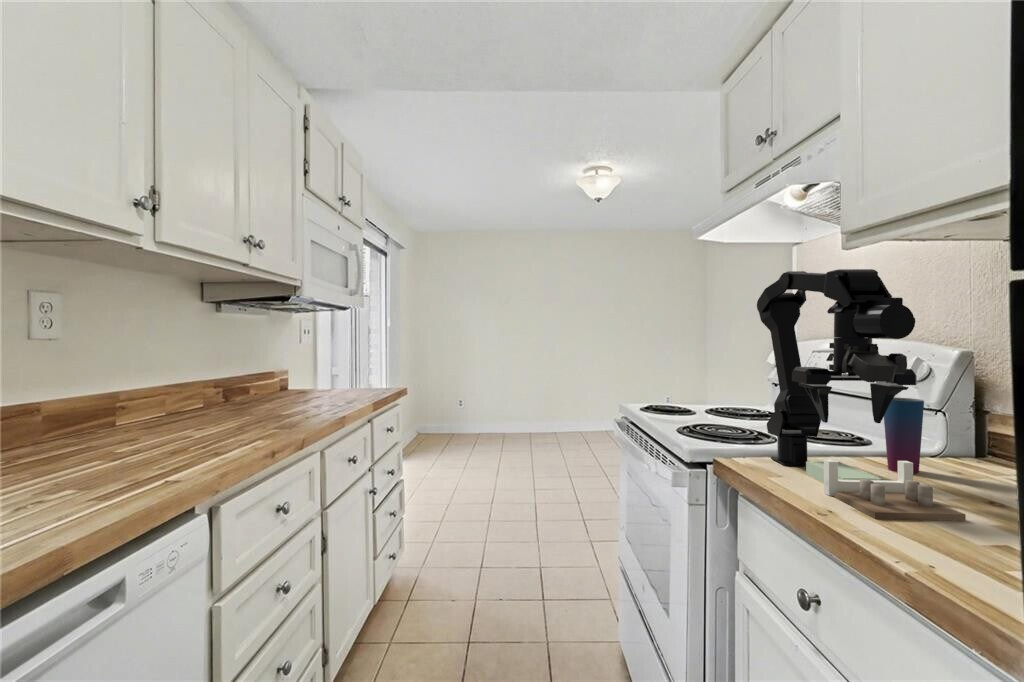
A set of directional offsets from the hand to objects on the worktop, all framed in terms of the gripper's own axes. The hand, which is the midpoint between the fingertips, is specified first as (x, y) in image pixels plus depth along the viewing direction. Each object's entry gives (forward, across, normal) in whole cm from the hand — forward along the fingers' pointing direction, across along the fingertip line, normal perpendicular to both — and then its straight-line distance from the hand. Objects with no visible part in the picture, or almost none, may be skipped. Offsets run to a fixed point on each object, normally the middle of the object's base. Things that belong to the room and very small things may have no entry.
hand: (851, 422), depth 87 cm
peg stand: (+12, +1, -11) cm, 16 cm away
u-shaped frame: (+12, +1, -4) cm, 13 cm away
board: (+13, 0, +3) cm, 13 cm away
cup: (+13, +19, +14) cm, 27 cm away
